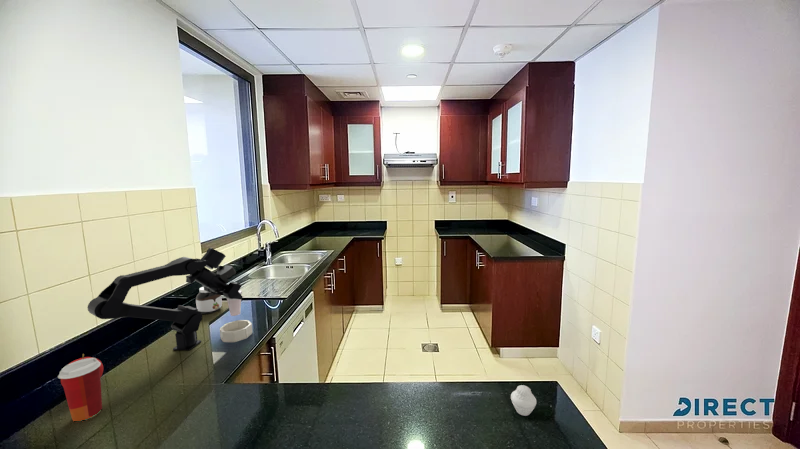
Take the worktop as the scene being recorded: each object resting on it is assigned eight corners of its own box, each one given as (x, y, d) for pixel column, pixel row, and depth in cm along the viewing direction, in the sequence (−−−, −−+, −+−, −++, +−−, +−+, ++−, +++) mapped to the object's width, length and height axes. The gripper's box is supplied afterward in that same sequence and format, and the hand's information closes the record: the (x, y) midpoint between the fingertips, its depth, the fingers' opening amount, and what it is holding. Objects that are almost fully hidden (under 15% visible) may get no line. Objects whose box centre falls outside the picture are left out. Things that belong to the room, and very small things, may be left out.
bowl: (242, 342, 119) (241, 332, 119) (215, 342, 120) (214, 332, 119) (256, 329, 130) (255, 320, 129) (231, 329, 130) (230, 320, 130)
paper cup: (104, 400, 88) (97, 353, 86) (110, 412, 83) (102, 363, 81) (64, 416, 82) (55, 366, 80) (67, 430, 77) (58, 378, 75)
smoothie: (236, 317, 129) (233, 284, 127) (223, 316, 130) (220, 284, 128) (247, 311, 135) (244, 280, 133) (234, 310, 137) (231, 279, 135)
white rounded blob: (534, 423, 77) (535, 397, 76) (508, 415, 80) (509, 389, 79) (537, 407, 82) (538, 383, 81) (512, 400, 85) (513, 376, 84)
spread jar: (201, 316, 143) (199, 292, 142) (192, 310, 150) (189, 287, 149) (228, 308, 153) (226, 285, 151) (218, 303, 160) (216, 281, 158)
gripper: (234, 263, 121) (262, 283, 132) (208, 258, 131) (236, 277, 142) (215, 289, 116) (246, 307, 127) (190, 281, 125) (220, 299, 136)
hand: (237, 296), depth 133 cm, fingers closed on smoothie, 6 cm apart
